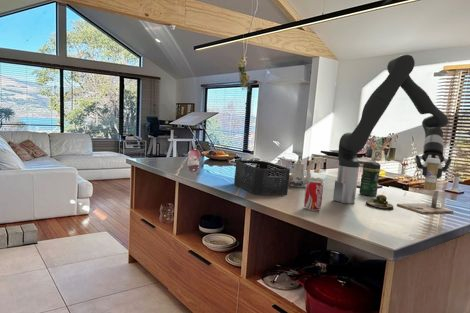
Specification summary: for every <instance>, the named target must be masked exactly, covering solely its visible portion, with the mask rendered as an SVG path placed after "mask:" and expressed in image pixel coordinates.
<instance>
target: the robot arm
mask: <svg viewBox="0 0 470 313" xmlns="http://www.w3.org/2000/svg"><path fill="white" fill-rule="evenodd" d="M415 64H416V63H415V59H414V57H413V56H412V55H410V54H406V53H405V54H401V55H399V56H396V57H394V58H392V59H391V60H390V61H388V63H387V65H386V66H387V67H386V69H387V72H388V75H387V77H386V78H385V79H384V81H382V83H380V84H379V86H377V87H376V89H375V90H374V91H373V92H372V93H371V95H370V96H369V97H368V99H367V100H366V102H365V104H364V106H363V109H362V112H361V118H360V120H359V122H358V124H357V125H356V127H355V128H354V130H353V131H352V132H346V133H343V135H341V136H340V139H339V143H338V152H337V153H338V154H337V159H338V167H337V168H338V169H337V176H336V180H335V181H334V187H333V197H332V201H336V202H337V203H340V204H342V203H343V204H355V200H356V193H357V186H358V178H359V170H360V161H359V159H358V155H357V154H358V153H359V152H362V150H363V149H364V148H365V146H366V144H367V142H368V140H369V138H370V136H371V134H372V133H373V130H374V128H375V127H376V126H377V124H378V123H379V121H380V119H381V118H382V116H383V115H384V113H385V112H386V110H387V109H388V107H389V105H390V104H391V102H392V100H393V98H395V96H396V94H397V93H398V90H400V88H401V89H402V90H403V91H404V92H405V94H406V95H407V96H408V98H409V99H410V101H411V102H412V103H413V105H414V108H415V109H416V110H417V112H418V113H419V114H420V115H426V114H429V116H427V117H425V118H424V119H423V120H422V122H421V124H422V125H421V126H422V128H423V131H424V136H425V137H424V142H423V153H422V155H418V154H416V155H415V158H414V160H415V164H416V167H417V169H419V170H421V173H422V174H421V175H422V176H423V177H424V178H425V177H426V171H427V160H428V158H436V159H440V163H439V168H438V175H437V180H438V179H440V178H441V177H442V176H443V173H446V172H447V171H448V169H449V167H450V165H451V162H452V158H450V157H449V158H445V157H444V131H443V129H442V128H445V127H446V126H447V125H448V124H449V118H448V116H447V115H446V114H445V113H444V112H443V111H442V110H440V109H439V107H437V106H436V105H435V104H434V102H433V100H432V99H431V97H430V96H429V94H428V93H427V91H425V90H424V88H422V87H421V86H419V84H417V83H416V82H415V81H414V80H413V78H411V76H410V74H411V73H412V72H413V70H414V67H415ZM421 160H422V161H423V162H424V163H423V164H422V161H421ZM443 162H444V166H443V165H442V163H443Z"/></svg>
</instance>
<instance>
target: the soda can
mask: <svg viewBox="0 0 470 313" xmlns="http://www.w3.org/2000/svg"><path fill="white" fill-rule="evenodd" d="M323 192H324V185H323V183H322V181H318V180H308V182H307V184H306V185H305V190H304V200H303V207H304V208H305V209H306V210H308V211H311V212H317V211H320V209H321V208H322V203H323Z"/></svg>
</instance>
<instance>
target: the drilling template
mask: <svg viewBox="0 0 470 313" xmlns="http://www.w3.org/2000/svg"><path fill="white" fill-rule="evenodd" d="M431 197H432V199H431V204H430V203H427V202H425V203H424V202H423V203H421V202H419V203H418V202H417V203H416V202H415V203H396V206H397V207H400V208H402V209H406V210H409V211H412V212H415V213H419V214H422V215H425V214H426V215H431V214H432V215H434V214H453V213H454V210H451V209H448V208H444V207H441V206H437V203H438V197H439V190H432V196H431Z"/></svg>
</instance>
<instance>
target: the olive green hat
mask: <svg viewBox="0 0 470 313" xmlns="http://www.w3.org/2000/svg"><path fill="white" fill-rule="evenodd" d="M384 193H385V191H383V192H382V194H378V195H376V198H374V197H372V198H371V199H370V200H366V201H365V205H369V206H371V207H375V208H380V209H389V210H390V211H392V210H393V209H394V205H393V204H392V203H389V201H388V200H387V196H386V195H385V194H384Z"/></svg>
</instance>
